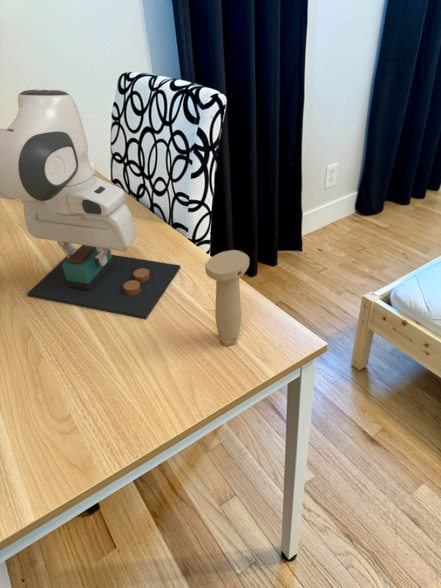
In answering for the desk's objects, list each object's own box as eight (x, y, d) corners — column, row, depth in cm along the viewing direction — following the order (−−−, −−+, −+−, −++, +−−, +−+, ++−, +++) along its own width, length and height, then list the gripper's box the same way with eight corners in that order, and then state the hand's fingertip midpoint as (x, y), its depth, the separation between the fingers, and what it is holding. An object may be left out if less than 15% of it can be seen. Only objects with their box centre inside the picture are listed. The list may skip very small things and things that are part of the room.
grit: (131, 281, 81) (130, 275, 80) (138, 272, 83) (137, 267, 82) (146, 283, 80) (145, 278, 79) (152, 274, 82) (151, 269, 82)
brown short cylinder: (121, 293, 78) (120, 288, 77) (129, 284, 80) (128, 279, 79) (136, 296, 77) (135, 291, 76) (143, 286, 79) (142, 281, 79)
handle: (253, 337, 69) (256, 259, 60) (224, 357, 66) (222, 278, 56) (233, 323, 72) (232, 246, 62) (203, 341, 68) (198, 263, 59)
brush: (68, 286, 80) (60, 260, 76) (93, 260, 86) (87, 235, 83) (89, 290, 78) (82, 264, 75) (113, 263, 85) (107, 238, 82)
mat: (27, 296, 79) (26, 293, 79) (75, 251, 91) (74, 248, 91) (146, 319, 73) (145, 316, 73) (180, 267, 85) (180, 265, 85)
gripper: (6, 194, 72) (30, 262, 81) (115, 207, 67) (129, 279, 76) (29, 179, 77) (50, 245, 85) (133, 191, 72) (144, 260, 80)
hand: (88, 261), depth 80 cm, fingers closed on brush, 4 cm apart
